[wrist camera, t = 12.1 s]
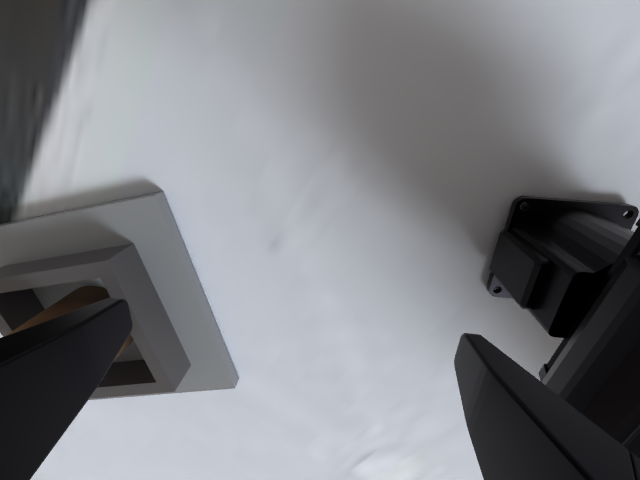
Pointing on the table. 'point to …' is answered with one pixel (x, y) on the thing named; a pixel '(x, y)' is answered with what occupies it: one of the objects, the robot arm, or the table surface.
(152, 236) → the collar
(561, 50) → the table surface
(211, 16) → the table surface
